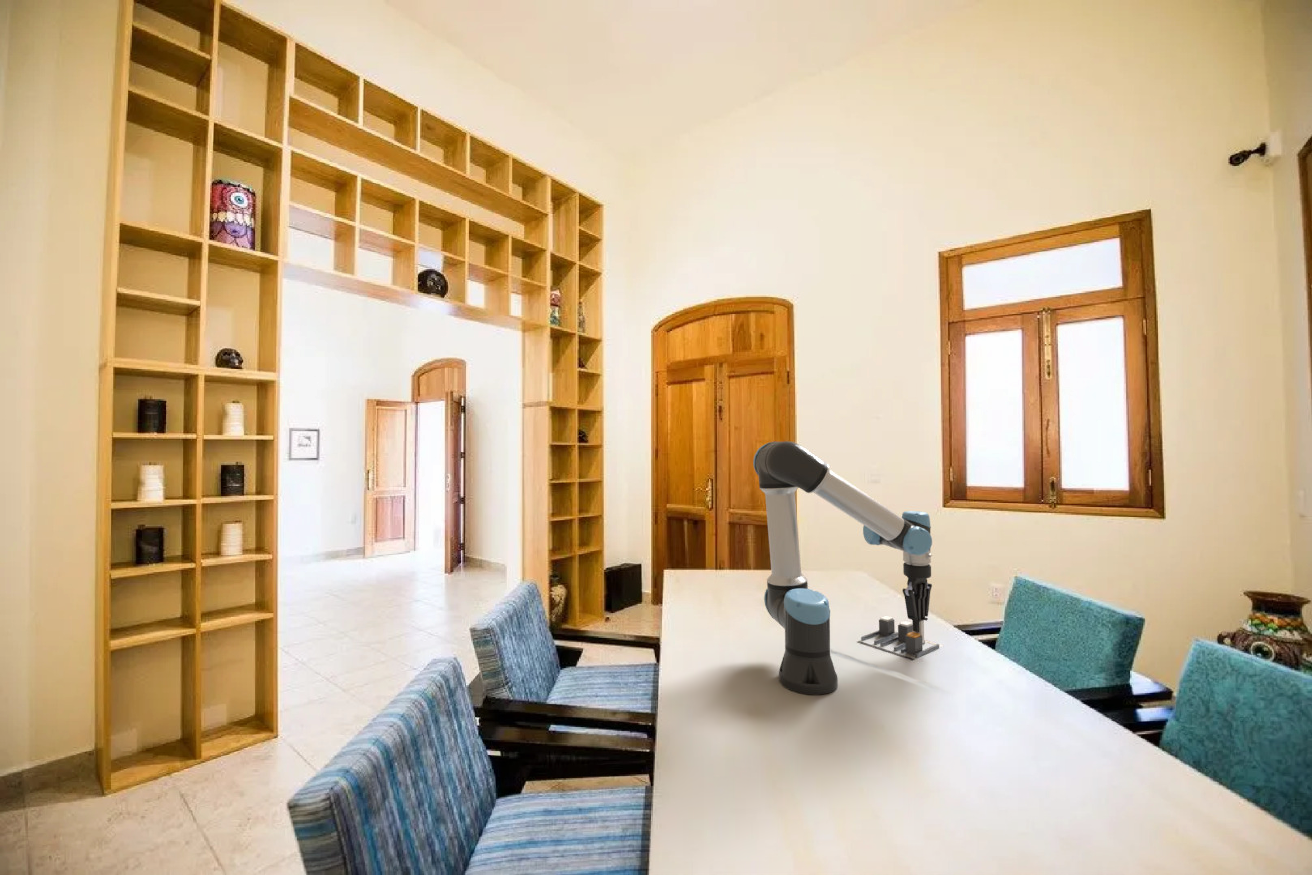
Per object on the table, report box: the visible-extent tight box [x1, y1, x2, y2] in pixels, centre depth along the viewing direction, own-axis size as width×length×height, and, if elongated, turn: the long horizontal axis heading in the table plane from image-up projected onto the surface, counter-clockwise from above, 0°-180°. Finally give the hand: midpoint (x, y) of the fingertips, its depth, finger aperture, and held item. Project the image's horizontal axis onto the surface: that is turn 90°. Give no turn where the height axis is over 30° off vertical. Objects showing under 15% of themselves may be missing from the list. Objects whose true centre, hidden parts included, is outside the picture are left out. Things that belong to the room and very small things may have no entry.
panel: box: [856, 629, 944, 661], centre depth 164 cm, size 26×20×2 cm
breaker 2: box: [897, 620, 913, 644], centre depth 166 cm, size 4×3×6 cm
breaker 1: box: [878, 615, 896, 637], centre depth 172 cm, size 4×3×6 cm
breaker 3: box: [905, 632, 924, 657], centre depth 157 cm, size 4×3×6 cm
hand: (918, 641), depth 158 cm, fingers closed
